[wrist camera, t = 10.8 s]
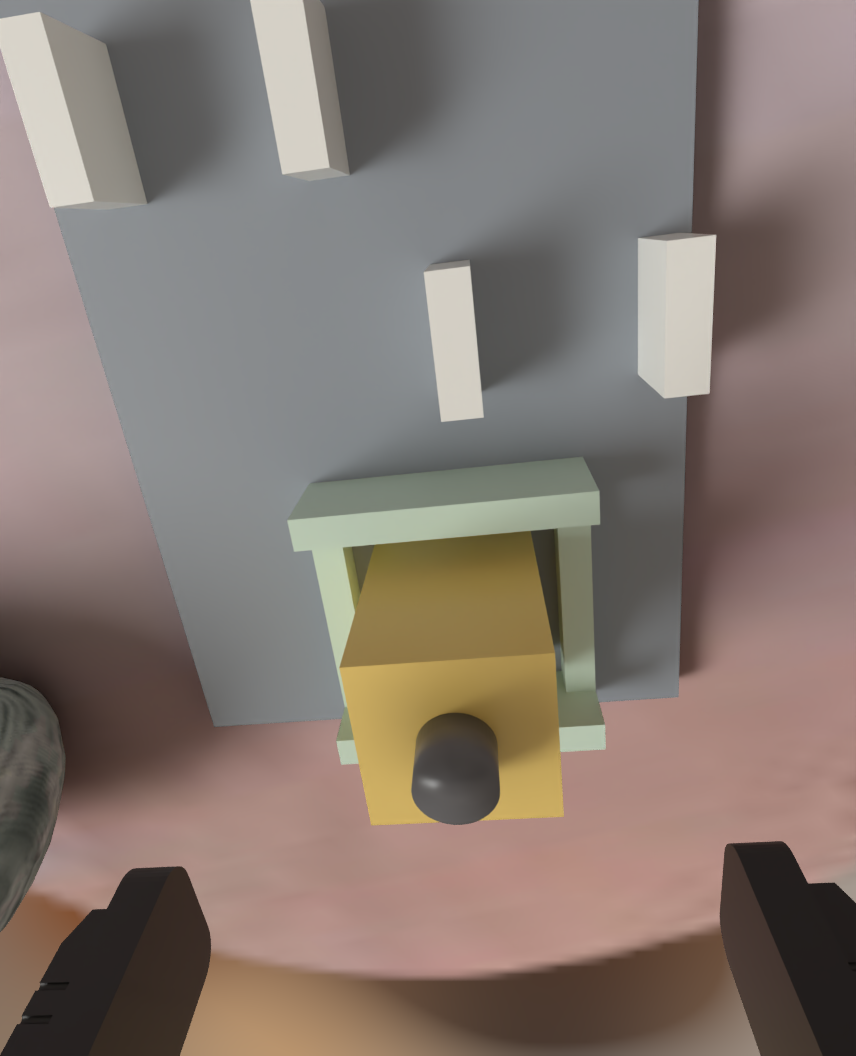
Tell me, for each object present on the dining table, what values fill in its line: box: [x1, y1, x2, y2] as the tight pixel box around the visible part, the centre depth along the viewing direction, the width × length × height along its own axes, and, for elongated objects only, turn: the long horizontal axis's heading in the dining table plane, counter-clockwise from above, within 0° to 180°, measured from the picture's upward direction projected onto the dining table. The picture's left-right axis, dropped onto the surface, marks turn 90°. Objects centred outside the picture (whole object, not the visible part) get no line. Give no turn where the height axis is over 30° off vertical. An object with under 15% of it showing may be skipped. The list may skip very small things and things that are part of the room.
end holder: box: [287, 457, 606, 765], centre depth 18 cm, size 7×7×2 cm
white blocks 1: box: [0, 0, 350, 210], centre depth 13 cm, size 3×6×2 cm, turn 97°
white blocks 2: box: [424, 233, 716, 422], centre depth 15 cm, size 3×6×2 cm, turn 97°
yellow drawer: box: [339, 531, 564, 825], centre depth 16 cm, size 4×4×7 cm
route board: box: [0, 0, 699, 727], centre depth 17 cm, size 20×14×1 cm
